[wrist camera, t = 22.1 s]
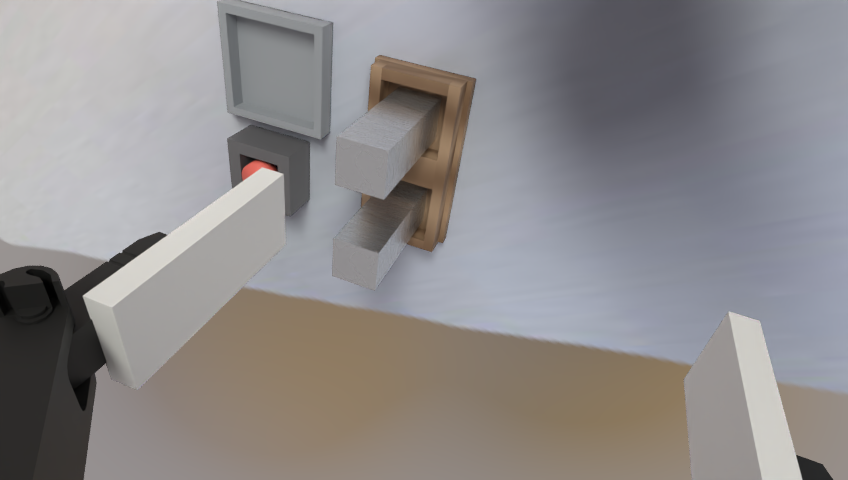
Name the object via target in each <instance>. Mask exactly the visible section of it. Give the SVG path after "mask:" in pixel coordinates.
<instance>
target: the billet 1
mask: <svg viewBox="0 0 848 480" xmlns="http://www.w3.org/2000/svg"><path fill="white" fill-rule="evenodd" d="M441 99H442V98H441V97H437V96H433V95H429V94H425V93H421V92H417V91H413V90H410V89H406V88H402V87H399V88H397V89H396V90H395V91H393V92H392V93H391V94H390V95H388V96H387V97H386V98H385V99H383V100H382V101H381V102H379V103H378V104H377V105H376V106H374V107H373V108H372V109H371V110H369V111H368V112H367V113H365V114H364V115H363V116H362V117H360V118H359V119H358V120H357V121H355V122H354V123H353V124H352V125H350V126H349V127H348V128H346V129H345V130H344V131H343V132H341V133H340V134H339V135H338V136H337V142H336V171H335V185H337V186H340V187H344V188H347V189H350V190H353V191H357V192H360V193H363V194H367V195H370V196H373V197H376V198H380V199H383V200H384V199H385V198H386V197H387V195H388V194H389V193H390V192H391V191H392V190H393V188H394V187H395V186H396V185H397V184H398V183H399V181H400V180H401V179H402V178H403V177H404V176H405V174H406V173H407V172H408V171H409V170H410V168H411V167H412V166H413V165H414V164H415V163H416V161H417V160H418V159H419V158H420V157H421V156H422V154H423V153H424V152H425V151H426V150H427V149H428V147H429V146H430V145H431V144H432V143H433V142H434V140H435V137H436V131H437V124H438V118H439V112H440V105H441Z"/></svg>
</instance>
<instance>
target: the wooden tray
mask: <svg viewBox="0 0 848 480" xmlns="http://www.w3.org/2000/svg"><path fill="white" fill-rule="evenodd" d="M475 82H476V79H475V78H471V77H466V76H462V75H458V74H454V73H450V72H446V71H442V70H438V69H434V68H430V67H426V66H422V65H418V64H414V63H410V62H406V61H402V60H398V59H394V58H390V57H386V56H382V55H379V56H377V57H376V58H375V63H374V64H372V65H371V73H370V87H369V101H368V111H369V110H371V109H372V108H373V107H374V106H376V105H377V104H378V103H379V102H381V101H382V100H383V99H385V98H386V97H387V96H388V95H390V94H391V93H392V92H393V91H395V90H396V89H397V88H399V87H402V88H406V89H410V90H413V91H417V92H421V93H425V94H429V95H433V96H437V97H441V98H442V99H441V105H440V112H439V118H438V124H437V131H436V137H435V140H434V142H433V143H432V144H431V145H430V146H429V147H428V149H427V150H426V151H425V152H424V153H423V154H422V156H421V157H420V158H419V159H418V160H417V161H416V163H415V164H414V165H413V166H412V167H411V168H410V170H409V171H408V172H407V173H406V174H405V176H404V177H403V178H402V179H401V180H402V181H405V182H408V183H412V184H415V185H418V186H422V187H425V188H428V190H427V197H426V203H425V209H424V216H423V221H422V222H421V224H420V225H419V227H418V228H417V230H416V231H415V233H414V234H413V236H412V237H411V238H410V240H409V241H408V243H407V244H408V245H411V246H415V247H418V248H421V249H424V250H427V251H430V252H432V251H433V249H434V248H435V246H436V244H437V243H438V242H441V243H443V242H444V240H445V238H446V233H447V228H448V223H449V218H450V212H451V207H452V202H453V197H454V192H455V186H456V181H457V176H458V171H459V166H460V160H461V155H462V150H463V145H464V140H465V134H466V129H467V124H468V119H469V114H470V108H471V103H472V98H473V93H474V88H475ZM370 197H371V196H370V195H367V194H363V193H362V200H361V207H362V206H363V205H364V204H365V203H366V202H367V201H368V200H369V198H370Z"/></svg>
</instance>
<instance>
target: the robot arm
mask: <svg viewBox="0 0 848 480" xmlns="http://www.w3.org/2000/svg"><path fill="white" fill-rule="evenodd" d="M285 245H286V229H285V197H284V174H282V173H279V172H276V171H272V170H269V169H266V168H263V167H262V168H261V169H259V170H258V171H256V172H255V173H254V174H252V175H251V176H249V177H248V178H247V179H245V180H244V181H242V182H241V183H240V184H238V185H237V186H235V187H234V188H233V189H231V190H230V191H228V192H227V193H226V194H224V195H223V196H221V197H220V198H219V199H217V200H216V201H214V202H213V203H212V204H210V205H209V206H207V207H206V208H205V209H203V210H202V211H200V212H199V213H198V214H196V215H195V216H194V217H192V218H191V219H189V220H188V221H187V222H185V223H184V224H182V225H181V226H180V227H178V228H177V229H175V230H174V231H173V232H171V233H170V234H168V235H166V234H164V233H161V232H158V233H155V234H152V235H150V236H147V237H144V238H142V239H139V240H137V241H136V242H134V243H133V244H132V245H130V246H129V247H127V248H126V249H124V250H123V252H122V253H118V254H117V255H115V256H114V257H113V258H111V259H110V261H109V262H105V263H104V264H102V265H101V266H99V267H98V268H96V269H95V270H94V271H92V272H91V273H90V274H88V275H86V276H85V277H83V278H82V279H80V280H79V281H78V282H76V283H74V284H73V285H72V286H70V287H69V288H67V289H66V290H64V289H63V286H62V284H61V281H60V278H59V276H58V274H57V273H56V272H55V271H54V270H53V269H51V268H48V267H44V266H25V267H20V268H15V269H12V270H10V271H7V272H5V273H2V274H0V480H83V479H84V472H85V464H86V457H87V450H88V441H89V435H90V427H91V420H92V412H93V405H94V398H95V390H96V377H95V372H96V371H97V370H98V369H100V368H101V367H102V366H103V365H104V364H105V363H106V366H107V368H108V371H109V374H110V377H111V379H112V380H114V381H116V382H119V383H121V384H124V385H126V386H128V387H130V388H133V389H135V390H138V389H139V388H140V387H141V386H142V385H143V384H144V383H145V382H146V381H147V380H148V379H149V378H150V377H151V376H152V375H153V374H154V373H155V372H156V371H157V370H158V369H159V368H160V367H162V365H164V364H165V363H166V362H167V360H169V359H170V358H171V357H172V356H173V355H174V354H175V353H176V352H177V351H178V350H179V349H180V348H181V347H182V346H183V345H184V344H185V343H186V342H187V341H188V340H189V339H190V338H191V337H192V336H193V335H194V334H195V333H196V332H197V331H198V330H199V329H200V328H201V327H202V326H203V325H204V324H205V323H207V321H209V320H210V319H211V318H212V317H213V316H214V314H216V313H217V312H218V311H219V310H220V309H221V308H222V307H223V306H224V305H225V304H226V303H227V302H228V301H229V300H230V299H231V298H232V297H233V296H234V295H235V294H236V293H237V292H238V291H239V290H240V289H241V288H242V287H243V286H244V285H245V284H246V283H247V282H248V281H249V280H250V279H251V278H252V277H254V276H255V275H256V274H257V273H258V272H259V271H260V270H261V269H262V268H263V267H264V266H265V265H266V264H267V263H268V262H269V261H270V260H271V259H272V258H273V257H274V256H275V255H276V254H277V253H278V252H279V251H280V250H281V249H282V248H283V247H284V246H285ZM684 387H685V401H686V413H687V426H688V438H689V451H690V463H691V476H692V480H833V479H832V477H831V476H830V475H829V473H828V472H827V470H826V469H825V467H824V466H823V464H820V463H817V462H815V461H812V460H809V459H806V458H803V457H800V456H798V455H796V454H795V451H794V446H793V443H792V439H791V435H790V432H789V428H788V424H787V421H786V417H785V413H784V410H783V406H782V402H781V398H780V395H779V391H778V387H777V383H776V380H775V376H774V372H773V368H772V365H771V361H770V357H769V353H768V350H767V346H766V342H765V339H764V335H763V331H762V327H761V324H760V321H759V320H755V319H752V318H749V317H746V316H742V315H739V314H736V313H733V312H729V311H728V313H727V314H726V316H725V317H724V319H723V320H722V322H721V323H720V325H719V326H718V328H717V329H716V331H715V333H714V334H713V336H712V337H711V339H710V340H709V342H708V343H707V345H706V346H705V348H704V349H703V351H702V352H701V354H700V355H699V357H698V359H697V360H696V362H695V363H694V365H693V366H692V368H691V369H690V371H689V372H688V374H687V375H686V377H685V378H684Z"/></svg>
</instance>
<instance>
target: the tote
mask: <svg viewBox="0 0 848 480" xmlns="http://www.w3.org/2000/svg"><path fill="white" fill-rule="evenodd" d="M217 6H218V16H219V27H220V37H221V48H222V58H223V69H224V79H225V89H226V100H227V110H228V113H231V114H234V115H238V116H241V117H245V118H248V119H252V120H255V121H259V122H262V123H266V124H269V125H272V126H276V127H279V128H283V129H286V130H290V131H293V132H297V133H300V134H304V135H307V136H310V137H314V138H317V139H322V138H323V137H325V136H326V135H327V134H329V133H330V114H331V76H332V39H333V23H332V22H328V21H324V20H320V19H315V18H311V17H307V16H303V15H299V14H294V13H290V12H286V11H282V10H278V9H273V8H269V7H265V6H261V5H257V4H253V3H248V2H244V1H240V0H221V1H217Z"/></svg>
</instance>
